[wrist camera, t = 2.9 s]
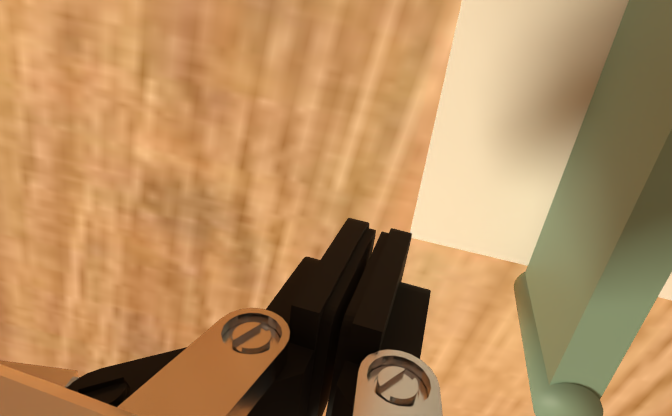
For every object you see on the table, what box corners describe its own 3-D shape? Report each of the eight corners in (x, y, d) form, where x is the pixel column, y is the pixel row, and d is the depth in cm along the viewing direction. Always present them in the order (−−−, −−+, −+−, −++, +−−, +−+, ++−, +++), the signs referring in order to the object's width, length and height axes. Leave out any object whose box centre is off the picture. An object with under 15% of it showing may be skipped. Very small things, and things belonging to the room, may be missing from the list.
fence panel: (667, -130, 10) (841, -258, 6) (741, -125, 10) (993, -256, 5) (508, 299, 16) (525, 420, 11) (552, 310, 16) (589, 440, 11)
